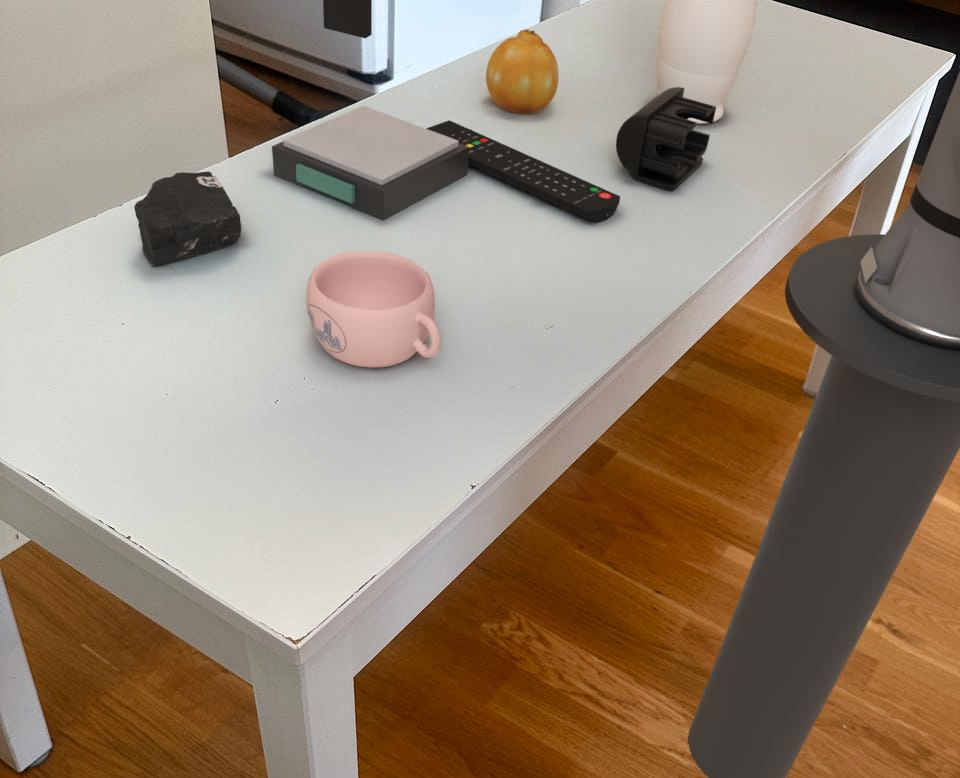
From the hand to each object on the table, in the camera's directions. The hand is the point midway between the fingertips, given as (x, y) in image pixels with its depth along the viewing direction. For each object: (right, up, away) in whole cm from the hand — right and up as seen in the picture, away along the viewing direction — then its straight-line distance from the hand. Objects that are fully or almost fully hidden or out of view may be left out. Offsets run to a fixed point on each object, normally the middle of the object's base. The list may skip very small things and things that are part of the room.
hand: (401, 2), depth 63 cm
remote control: (+9, +9, +43) cm, 45 cm away
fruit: (+9, +23, +56) cm, 61 cm away
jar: (+30, +24, +59) cm, 70 cm away
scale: (-6, +8, +41) cm, 42 cm away
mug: (-3, -16, +19) cm, 25 cm away
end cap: (+24, +11, +47) cm, 54 cm away
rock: (-21, -4, +28) cm, 35 cm away
